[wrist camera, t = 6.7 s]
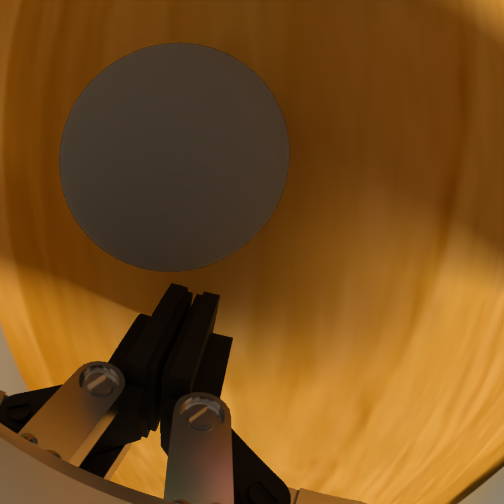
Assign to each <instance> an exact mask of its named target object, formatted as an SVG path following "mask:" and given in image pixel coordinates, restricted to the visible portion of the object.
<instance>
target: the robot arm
mask: <svg viewBox="0 0 504 504" xmlns="http://www.w3.org/2000/svg"><path fill="white" fill-rule="evenodd" d="M192 296H193V293H191V292H188V288H187V287H185V286H181V285H177V284H173V283H172V284H171V285H170V286H169V288H168V290H167V291H166V293H165V294H164V296H163V298H162V299H161V301H160V302H159V304H158V306H157V307H156V309H155V311H154V312H153V314H152V316H148V315H145V314H142V313H141V314H139V315H138V317H137V318H136V320H135V321H134V323H133V324H132V326H131V327H130V329H129V330H128V332H127V333H126V335H125V336H124V338H123V339H122V341H121V343H120V344H119V346H118V347H117V349H116V350H115V352H114V354H113V355H112V357H111V358H110V360H109V361H108V363H107V362H101V361H95V362H89V363H87V364H84V365H83V366H81V367H80V368H79V369H77V371H76V372H75V373H74V374H73V375H72V376H71V377H70V378H69V379H68V380H67V381H66V382H65V383H64V384H62V385H58V386H53V387H49V388H44V389H39V390H34V391H29V392H24V393H19V394H15V395H12V396H7V394H6V392H4V391H1V390H0V504H366V503H364V502H361V501H356V500H350V499H345V498H340V497H335V496H331V495H327V494H322V493H318V492H314V491H310V490H306V489H303V488H300V489H299V490H296V489H293V488H289V487H287V486H286V485H285V483H284V482H283V481H282V480H281V479H280V478H279V477H278V476H277V475H276V474H275V473H274V472H273V471H272V470H271V469H270V468H269V467H268V466H267V465H266V464H265V463H264V462H263V461H262V460H261V459H260V458H259V457H258V456H257V455H256V454H255V453H254V452H253V451H252V450H251V449H250V448H249V447H248V446H247V445H246V443H245V442H244V441H243V440H242V439H241V438H240V437H239V436H238V435H237V434H236V433H235V431H234V430H233V429H232V428H231V414H230V410H229V408H228V407H227V405H226V403H224V402H223V401H222V400H221V399H220V396H221V391H222V386H223V382H224V377H225V373H226V368H227V363H228V359H229V354H230V349H231V345H232V340H233V338H231V337H227V336H223V335H219V334H215V333H213V329H214V324H215V319H216V314H217V309H218V304H219V298H220V295H217V294H212V293H208V292H204V293H203V295H199V294H197V295H196V297H195V299H194V301H193V304H192V306H191V303H192ZM159 422H160V433H161V447H162V448H163V450H164V451H165V453H166V454H167V456H168V461H167V471H166V481H165V491H164V499H161V498H158V497H155V496H152V495H148V494H145V493H142V492H139V491H136V490H133V489H130V488H127V487H125V486H122V485H119V484H117V483H114V482H111V481H109V480H110V479H111V477H112V476H113V474H114V473H115V471H116V469H117V468H118V466H119V465H120V463H121V462H122V460H123V458H124V457H125V455H126V454H127V452H128V450H129V449H130V446H131V444H132V442H135V441H138V440H141V437H142V436H143V437H146V438H147V437H148V435H149V432H150V430H152V431H156V430H157V427H158V425H159Z"/></svg>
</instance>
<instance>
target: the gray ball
mask: <svg viewBox="0 0 504 504" xmlns="http://www.w3.org/2000/svg"><path fill="white" fill-rule="evenodd" d="M289 159H290V149H289V138H288V133H287V127H286V123H285V120H284V117H283V114H282V111H281V109H280V107H279V105H278V103H277V101H276V99H275V97H274V95H273V94H272V92H271V91H270V89H269V88H268V87H267V85H266V84H265V83H264V82H263V80H262V79H261V78H260V77H259V76H258V75H257V74H256V73H255V72H254V71H252V70H251V69H250V68H249V67H247V66H246V65H245V64H244V63H242V62H241V61H239V60H237V59H235V58H234V57H232V56H230V55H229V54H227V53H224V52H222V51H219V50H217V49H214V48H211V47H206V46H202V45H197V44H186V43H169V44H160V45H155V46H151V47H147V48H144V49H140V50H137V51H135V52H133V53H131V54H128V55H126V56H124V57H122V58H120V59H118V60H117V61H115V62H114V63H112V64H111V65H109V66H108V67H107V68H105V69H104V70H103V71H102V72H101V73H100V74H98V75H97V76H96V77H95V78H94V79H93V80H92V81H91V82H90V83H89V84H88V86H87V87H86V88H85V90H84V91H83V92H82V94H81V95H80V96H79V98H78V99H77V101H76V102H75V104H74V106H73V108H72V110H71V112H70V114H69V117H68V119H67V122H66V124H65V127H64V130H63V135H62V139H61V145H60V154H59V170H60V178H61V184H62V189H63V193H64V196H65V199H66V202H67V204H68V207H69V209H70V211H71V213H72V215H73V216H74V218H75V220H76V221H77V223H78V224H79V226H80V227H81V229H82V230H83V231H84V232H85V233H86V235H87V236H88V237H89V238H90V239H91V240H92V241H93V242H94V243H95V244H96V245H98V246H99V247H100V248H101V249H103V250H104V251H105V252H107V253H108V254H110V255H111V256H113V257H115V258H116V259H119V260H121V261H123V262H125V263H128V264H130V265H133V266H136V267H139V268H143V269H147V270H153V271H164V272H178V271H186V270H192V269H197V268H201V267H205V266H208V265H210V264H213V263H215V262H217V261H220V260H222V259H224V258H226V257H228V256H230V255H231V254H233V253H234V252H236V251H237V250H239V249H240V248H242V247H243V246H244V245H246V244H247V243H248V242H249V241H250V240H251V239H252V238H254V236H255V235H256V234H257V233H258V232H259V231H260V230H261V229H262V227H263V226H264V225H265V224H266V223H267V221H268V220H269V218H270V216H271V215H272V213H273V212H274V210H275V208H276V206H277V204H278V202H279V200H280V198H281V195H282V193H283V190H284V187H285V183H286V179H287V174H288V169H289Z"/></svg>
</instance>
